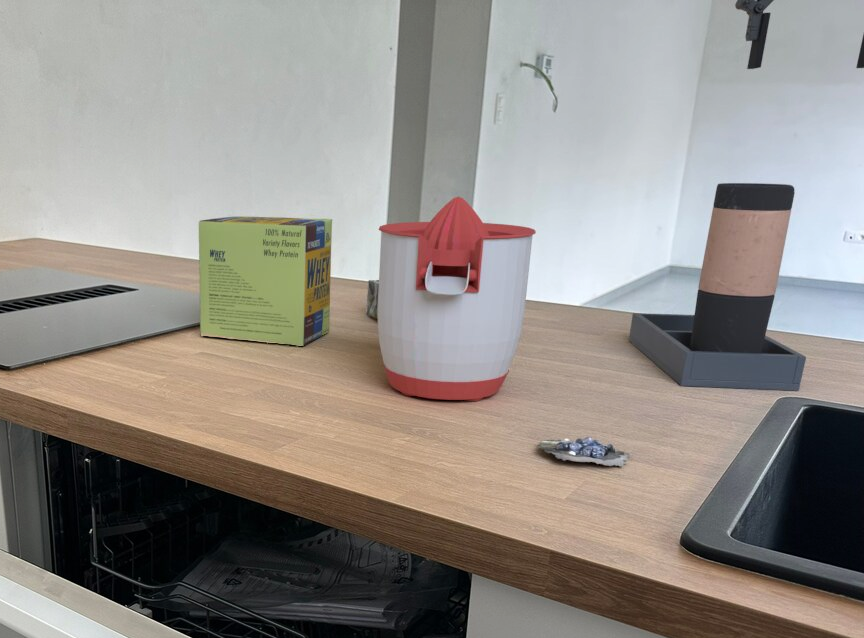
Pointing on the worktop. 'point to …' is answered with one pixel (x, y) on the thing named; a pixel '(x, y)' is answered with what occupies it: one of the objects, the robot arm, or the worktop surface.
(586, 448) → the blueberries
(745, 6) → the robot arm
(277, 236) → the protein box
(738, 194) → the travel mug
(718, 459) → the worktop surface
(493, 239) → the citrus juicer
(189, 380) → the worktop surface
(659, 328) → the grey divided tray
